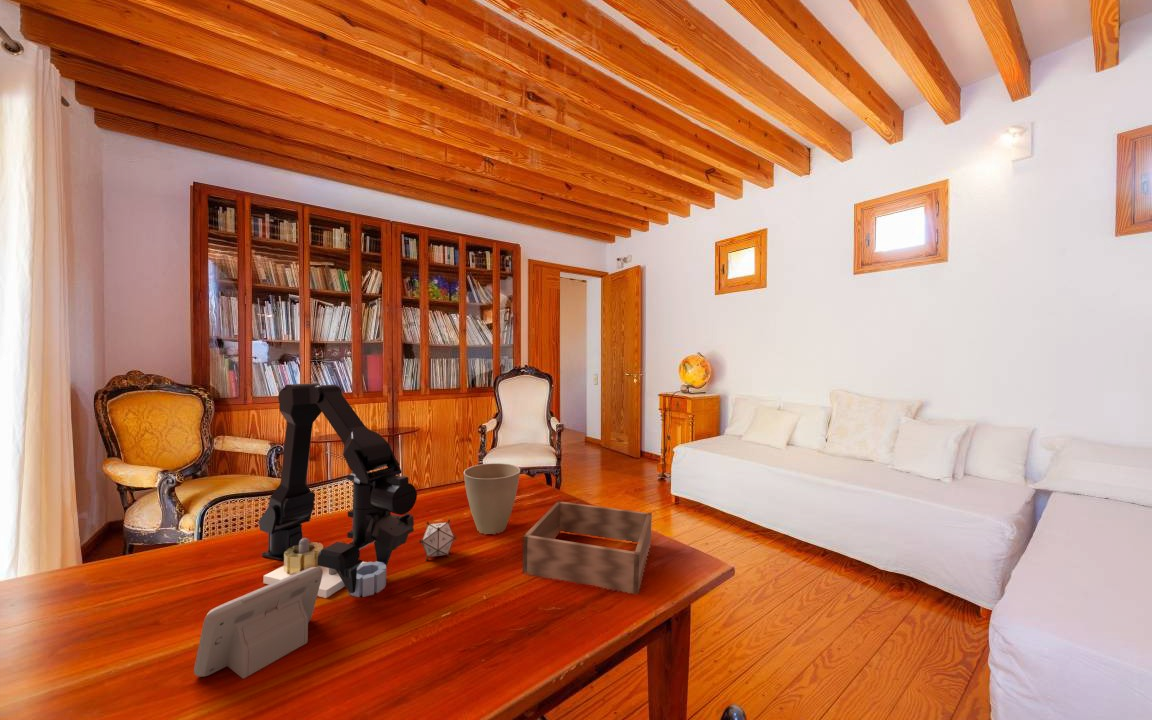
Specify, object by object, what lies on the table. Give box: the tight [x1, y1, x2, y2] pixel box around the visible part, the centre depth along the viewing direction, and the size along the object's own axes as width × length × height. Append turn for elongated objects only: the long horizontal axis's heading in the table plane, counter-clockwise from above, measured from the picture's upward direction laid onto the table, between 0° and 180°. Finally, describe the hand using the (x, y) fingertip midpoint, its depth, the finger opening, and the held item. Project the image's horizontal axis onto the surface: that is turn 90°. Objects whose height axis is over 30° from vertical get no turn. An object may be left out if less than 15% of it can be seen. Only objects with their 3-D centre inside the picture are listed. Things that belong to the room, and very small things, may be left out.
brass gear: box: [283, 541, 324, 574], centre depth 88 cm, size 7×7×4 cm
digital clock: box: [193, 567, 323, 680], centre depth 65 cm, size 16×9×11 cm, turn 140°
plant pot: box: [463, 462, 521, 535], centre depth 112 cm, size 15×15×16 cm
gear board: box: [262, 537, 367, 599], centre depth 87 cm, size 16×11×7 cm
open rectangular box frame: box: [522, 500, 653, 595], centre depth 98 cm, size 25×23×10 cm
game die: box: [418, 518, 459, 561], centre depth 97 cm, size 9×8×10 cm
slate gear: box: [348, 560, 387, 598], centre depth 84 cm, size 7×7×4 cm
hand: (367, 581), depth 84 cm, fingers open, 8 cm apart
